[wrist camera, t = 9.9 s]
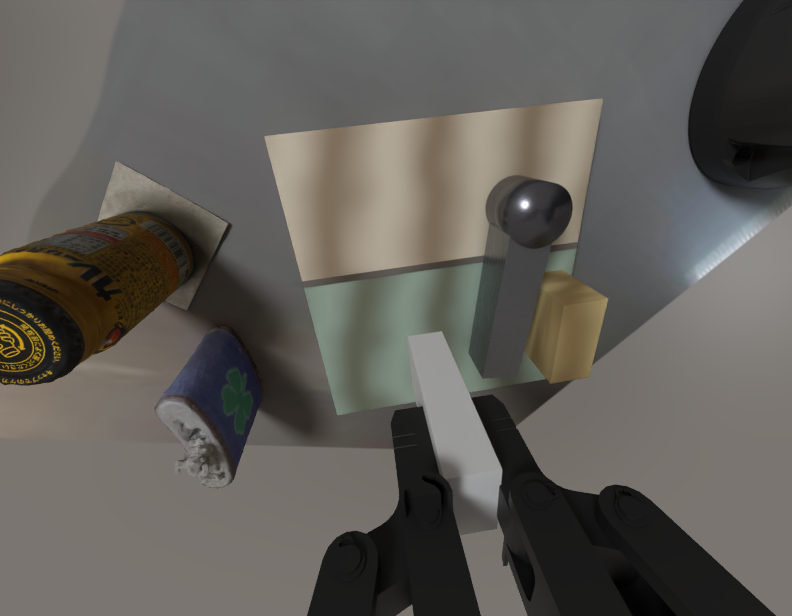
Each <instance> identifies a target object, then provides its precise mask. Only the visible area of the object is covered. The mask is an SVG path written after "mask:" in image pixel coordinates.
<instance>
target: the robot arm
mask: <svg viewBox="0 0 792 616" xmlns="http://www.w3.org/2000/svg"><path fill="white" fill-rule="evenodd" d="M690 142H691V148H692V152H693V155H694V158H695V160H696V162H697V164H698V165H699V167H700V168H701V170H702V171H703V172H704V173H705V174H706V175H707V176H708V177H709V178H711V179H712V180H714V181H716V182H718V183H721V184H725V185H730V186H738V187H745V188H753V189H774V188H782V187H789V186H792V0H744V1H743V2H742V3H741V4H740V6H739V7H738V8H737V9H736V11H735V12H734V14H733V15H732V16H731V18H730V19H729V21H728V22H727V24H726V25H725V27H724V28H723V30H722V32H721V33H720V35H719V37H718V38H717V40H716V42H715V44H714V46H713V48H712V49H711V51H710V54H709V56H708V58H707V60H706V62H705V64H704V67H703V69H702V72H701V74H700V77H699V80H698V83H697V86H696V90H695V93H694V97H693V102H692V107H691V114H690ZM408 346H409V357H410V367H411V377H412V386H413V390H414V395H415V399H416V403H417V407H415V408H408V409H402V410H395V413H394V415H393V418H392V421H391V429H392V437H393V445H394V453H395V462H396V470H397V477H398V486H399V501H398V505H397V508H396V510H395V512H394V514H393V515H392V516H391V517H390V518H389V520H387V522H385V523H383V524H382V525H381V526H379V527H377V528H375V529H374V530H372V531H370V532H368V533H367V534H365V533H362V532H359V531H351V532H346V533H344V534H342V535H340V536H339V537H337V538H336V539H335V540H334V541H333V542H332V543H331V544H330V546H329V547H328V549H327V551H326V553H325V555H324V558H323V560H322V564H321V568H320V571H319V575H318V579H317V583H316V586H315V589H314V593H313V597H312V600H311V604H310V607H309V611H308V615H307V616H396V615H397V614H399V613H400V612H401V611H403V610H404V609H406V608H407V607H409V606H410V605H413V613H414V616H481V615H480V611H479V607H478V603H477V600H476V596H475V592H474V588H473V584H472V580H471V577H470V573H469V569H468V565H467V562H466V558H465V554H464V550H463V546H462V542H461V538H460V535H464V534H469V533H475V532H480V531H486V530H492V529H497V523H498V521H499V523H500V526H501V528H502V532H503V534H504V543H503V552H502V560H503V566H507V564H508V562H509V564H510V567H511V570H512V572H513V576H514V578H515V581H516V584H517V587H518V590H519V593H520V595H521V598H522V601H523V603H524V606H525V609H526V612H527V615H528V616H776V615H775V614H773V613H772V612H771V611H770V610H769V609H768V608H767V607H766V606H765V605H764V604H763V603H762V602H760V601H759V600H758V599H757V598H756V597H755V596H754V595H753V594H752V593H751V592H750V591H748V590H747V589H746V588H745V587H744V586H743V585H742V584H741V583H740V582H739V581H738V580H737V579H735V578H734V577H733V576H732V575H731V574H730V573H729V572H728V571H727V570H726V569H725V568H724V567H723V566H721V565H720V564H719V563H718V562H717V561H716V560H715V559H714V558H713V557H712V556H711V555H709V554H708V553H707V552H706V551H705V550H704V549H703V548H702V547H701V546H699V544H698V543H696V542H695V541H694V540H693V539H692V538H691V537H690V536H689V535H687V533H686V532H685V531H683V530H682V529H681V528H680V527H679V526H678V525H677V524H676V523H674V521H673V520H672V519H670V518H669V517H668V516H667V515H666V514H665V513H664V512H663V511H662V510H661V509H660V508H658V507H657V506H656V505H655V504H654V503H653V502H652V501H651V500H650V499H648V498H647V497H645V496H644V495H643V494H642V493H640V492H639V491H636V490H634V489H632V488H629V487H627V486H621V485H611V486H607V487H605V488H604V489H603V490H602V491H601V492H600V494H599V495H596V494H590V493H584V492H577V491H572V490H568V489H564V488H562V487H560V486H558V485H556V484H555V483H554V482H552V481H551V480H550V479H548V478H547V477H546V476H545V475H544V474H543V473H542V472H541V470H540V469H539V467H538V466H537V464H536V462H535V460H534V458H533V457H532V455H531V453H530V451H529V449H528V447H527V446H526V444H525V442H524V440H523V438H522V437H521V435H520V433H519V431H518V429H516V426H515V424H514V422H513V420H512V419H511V417H510V415H509V413H508V411H507V409H506V407H505V406H504V404H503V403H502V402H501V401H499V400H498V399H497V398H496V397H495V396H493V395H486V396H480V397H474V398H471V397H470V394H469V392H468V390H467V388H466V385H465V383H464V381H463V379H462V376H461V374H460V372H459V369H458V367H457V365H456V363H455V360H454V358H453V356H452V353H451V351H450V349H449V347H448V344H447V342H446V340H445V337H444V335H443V333H442V331H440V332H434V333H427V334H420V335H413V336H408Z"/></svg>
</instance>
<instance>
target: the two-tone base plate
mask: <svg viewBox="0 0 792 616" xmlns="http://www.w3.org/2000/svg"><path fill="white" fill-rule="evenodd" d="M602 102H603V98H601V99H592V100H584V101H575V102H566V103H557V104H548V105H539V106H530V107H521V108H512V109H503V110H494V111H485V112H476V113H467V114H458V115H450V116H441V117H432V118H423V119H414V120H405V121H396V122H387V123H378V124H369V125H360V126H351V127H342V128H333V129H324V130H315V131H307V132H298V133H289V134H280V135H271V136H264V137H265V141H266V145H267V149H268V152H269V156H270V160H271V164H272V168H273V171H274V175H275V179H276V183H277V187H278V190H279V194H280V198H281V202H282V206H283V210H284V213H285V217H286V221H287V225H288V229H289V232H290V236H291V240H292V244H293V248H294V251H295V255H296V259H297V263H298V267H299V271H300V274H301V278H302V283H303V287H304V290H305V293H306V297H307V301H308V305H309V309H310V312H311V316H312V320H313V324H314V328H315V332H316V335H317V339H318V343H319V347H320V351H321V354H322V358H323V362H324V366H325V370H326V373H327V377H328V381H329V385H330V389H331V393H332V396H333V400H334V404H335V408H336V412H337V415H342V414H347V413H353V412H359V411H365V410H370V409H376V408H382V407H388V406H394V405H399V404H405V403H411V402H416V399H415V395H414V390H413V386H412V377H411V367H410V357H409V346H408V336H413V335H420V334H427V333H434V332H440V331H442V333H443V335H444V337H445V340H446V342H447V344H448V347H449V349H450V351H451V353H452V356H453V358H454V360H455V363H456V365H457V367H458V369H459V372H460V374H461V376H462V379H463V381H464V383H465V385H466V388H467V390H468V392H474V391H480V390H486V389H492V388H498V387H503V386H509V385H515V384H521V383H526V382H532V381H538V380H544V379H547V380H548V381H549V383H550V384H552V383H558V382H564V381H570V380H575V379H581V378H587V377H589V375H590V371H591V367H592V363H593V359H594V355H595V351H596V347H597V343H598V339H599V335H600V330H601V326H602V322H603V318H604V314H605V310H606V306H607V302H608V298H606V297H605V296H603V295H601V294H600V293H598V292H597V291H595V290H593V289H592V288H590V287H589V286H587V285H585V284H584V283H582V282H581V281H579V280H577V279H576V278H574V277H573V276H572V271H573V266H574V260H575V254H576V249H577V248H578V237H579V232H580V226H581V220H582V215H583V209H584V204H585V198H586V192H587V187H588V181H589V175H590V170H591V164H592V159H593V153H594V147H595V142H596V136H597V130H598V125H599V119H600V114H601V108H602ZM513 175H522V176H527V177H531V178H535V179H540V180H544V181H548V182H553V183H557V184H559V185H561V186H563V187H564V188H565V189H566V190H567V191H568V192H569V194H570V196H571V199H572V204H573V211H572V216H571V220H570V222H569V224H568V226H567V228H566V230H565V231H564V232H563V234H562V235H561V236H560V237H559V238H558V239H557V240H555V241H554V242H553V243H552V245H551V249H550V253H549V257H548V261H547V264H546V268H545V272H544V276H543V280H542V284H541V288H540V291H539V295H538V299H537V303H536V307H535V311H534V314H533V318H532V322H531V326H530V330H529V334H528V338H527V341H526V345H525V349H524V353H523V357H522V361H521V364H520V368H519V372H518V376H515V377H500V378H486V379H482V377H481V375H480V373H479V372H478V370H477V368H476V366H475V364H474V363H473V361H472V359H471V357H470V355H469V354H468V352H469V346H470V340H471V334H472V327H473V321H474V315H475V309H476V303H477V297H478V290H479V284H480V278H481V272H482V266H483V260H484V253H485V247H486V241H487V235H488V229H489V222H488V220H487V217H486V212H485V207H486V201H487V198H488V196H489V193H490V192H491V190H492V189H493V188H494V186H495V185H496V184H497V183H498V182H500V181H501V180H503V179H504V178H506V177H509V176H513Z"/></svg>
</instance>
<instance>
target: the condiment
mask: <svg viewBox="0 0 792 616" xmlns="http://www.w3.org/2000/svg"><path fill="white" fill-rule="evenodd" d="M142 205H147V207H145V208H143V207H142ZM137 207H141V210H138V209H137ZM227 225H228V223H227V222H225V221H223V220H222V219H220V218H218V217H216V216H215V215H214V214H212V213H210V212H208V211H206V210H205V209H203V208H201V207H199V206H197V205H195V204H194V203H192V202H191V201H189V200H187V199H185V198H183V197H182V196H180V195H178V194H176V193H174V192H172V191H171V190H169V189H168V188H166V187H164V186H162V185H160V184H158V183H156V182H154V181H152V180H150V179H149V178H147V177H145V176H144V175H142V174H140V173H138V172H136V171H134V170H132V169H130V168H128V167H127V166H125V165H123V164H121V163H119V162H118V161H116V164H115V167H114V169H113V172H112V176H111V180H110V183H109V185H108V187H107V191H106V195H105V198H104V200H103V204H102V207H101V211H100V215H99V218H98V221H97V222H93V223H90V224H88V225H85V226H83V227H79V228H75V229H71V230H67V231H66V232H65V233H62V234H56V235H54V236H52V237H50V238H45V239H43V240H40V241H36V242H33V243H30V244H28V245H25V246H23V247H20V248H15V249H12V250H10V251H8V252H4V253H3V254H2V255H0V383H2V384H4V385H8V384H15V385H35V384H41V383H49V382H53V381H54V380H56V379H58V378H60V377H63V376H65V375H67V374H68V373H70V372H71V371H72V370H73V369H74V368H75V367H76V366H77V365H78V364H80V363H81V362H83V361H85V360H86V359H87V358H89V357H90V356H91V355H94V354H97V353H100V352H102V351H104V350H107V349H108V348H110V347H112V346H114V345H115V344H116V343H117V342H118V341H119V340H120V339H121V338H122V337H124V336H125V335H126V334H127V333H128V332H129V331H130V330H131V329H133V328H134V327H135V326H136V325H137V324H138V323H139V322H140V321H142V320H143V319H144V318H145V317H146V316H147V315H148V314H150V313H151V312H152V311H154V309H155V308H157V307H158V306H159V305H160V304H161V303H162V302H163V301H166V302H168V303H170V304H173V305H175V306H177V307H179V308H182V309H184V310H187V309H188V307H189V305H190V303H191V301H192V299H193V297H194V295H195V293H196V290H197V288H198V286H199V284H200V282H201V280H202V278H203V276H204V274H205V272H206V269H207V267H208V265H209V263H210V260H211V258H212V257H213V255H214V252H215V250H216V248H217V246H218V244H219V242H220V240H221V237H222V235H223V233H224V231H225V229H226V227H227ZM195 247H197V248H195Z"/></svg>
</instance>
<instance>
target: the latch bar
mask: <svg viewBox="0 0 792 616" xmlns="http://www.w3.org/2000/svg"><path fill="white" fill-rule="evenodd" d="M572 211H573V204H572V199H571V196H570V194H569V192H568V191H567V190H566V189H565V188H564V187H563V186H561V185H559V184H557V183H553V182H548V181H544V180H540V179H535V178H531V177H527V176H522V175H513V176H509V177H506V178H504V179H503V180H501V181H500V182H498V183H497V184H496V185H495V186H494V188H493V189H492V190H491V192H490V193H489V196H488V198H487V201H486V207H485V212H486V217H487V220H488V222H489V229H488V235H487V241H486V247H485V253H484V260H483V266H482V272H481V278H480V284H479V290H478V297H477V303H476V309H475V315H474V321H473V327H472V334H471V340H470V346H469V352H468V354H469V355H470V357H471V359H472V361H473V363H474V364H475V366H476V368H477V370H478V372H479V373H480V375H481V377H482V379H486V378H500V377H515V376H518V372H519V368H520V364H521V361H522V357H523V353H524V349H525V345H526V341H527V338H528V334H529V330H530V326H531V322H532V318H533V314H534V311H535V307H536V303H537V299H538V295H539V291H540V288H541V284H542V280H543V276H544V272H545V268H546V264H547V261H548V257H549V253H550V249H551V245H552V243H553V242H554V241H555V240H557V239H558V238H559V237H560V236H561V235H562V234H563V232H564V231H565V230H566V228H567V226H568V224H569V222H570V220H571V216H572Z"/></svg>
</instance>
